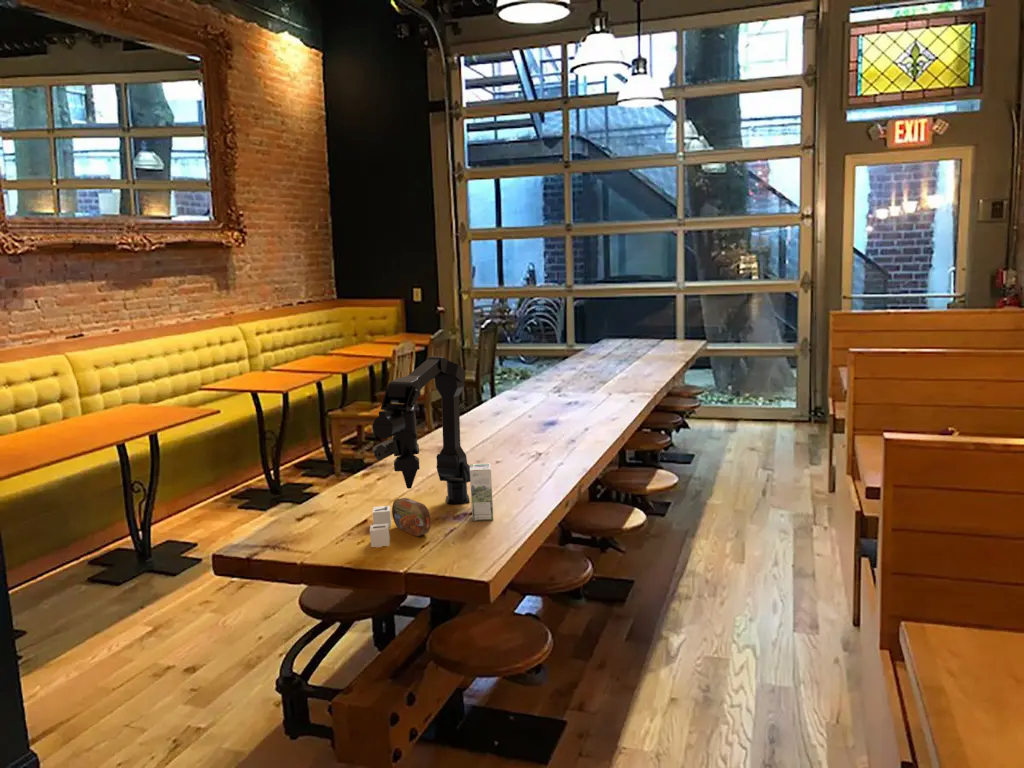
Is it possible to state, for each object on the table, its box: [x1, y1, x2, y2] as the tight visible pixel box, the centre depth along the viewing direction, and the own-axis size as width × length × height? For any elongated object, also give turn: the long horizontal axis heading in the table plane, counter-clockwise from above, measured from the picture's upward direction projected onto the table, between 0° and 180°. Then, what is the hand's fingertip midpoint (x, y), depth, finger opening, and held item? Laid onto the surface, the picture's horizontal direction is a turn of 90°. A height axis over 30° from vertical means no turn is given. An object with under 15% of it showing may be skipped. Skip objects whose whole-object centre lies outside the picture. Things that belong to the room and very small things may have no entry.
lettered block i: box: [369, 523, 391, 548], centre depth 208 cm, size 4×4×5 cm
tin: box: [391, 497, 432, 537], centre depth 216 cm, size 15×3×8 cm, turn 40°
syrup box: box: [469, 462, 494, 522], centre depth 223 cm, size 6×6×14 cm
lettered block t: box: [372, 505, 392, 528], centre depth 222 cm, size 4×4×5 cm
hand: (409, 488), depth 214 cm, fingers closed
